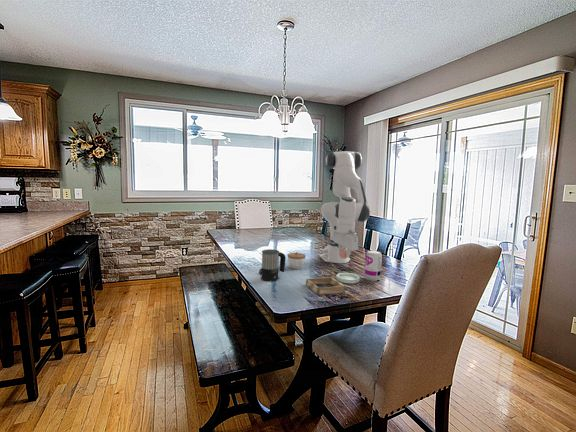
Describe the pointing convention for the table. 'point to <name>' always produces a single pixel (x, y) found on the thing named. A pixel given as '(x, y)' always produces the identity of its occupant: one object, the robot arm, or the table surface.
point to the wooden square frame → (325, 290)
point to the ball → (343, 253)
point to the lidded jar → (296, 260)
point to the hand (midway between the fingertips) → (344, 254)
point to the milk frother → (271, 264)
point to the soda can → (373, 265)
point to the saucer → (348, 278)
